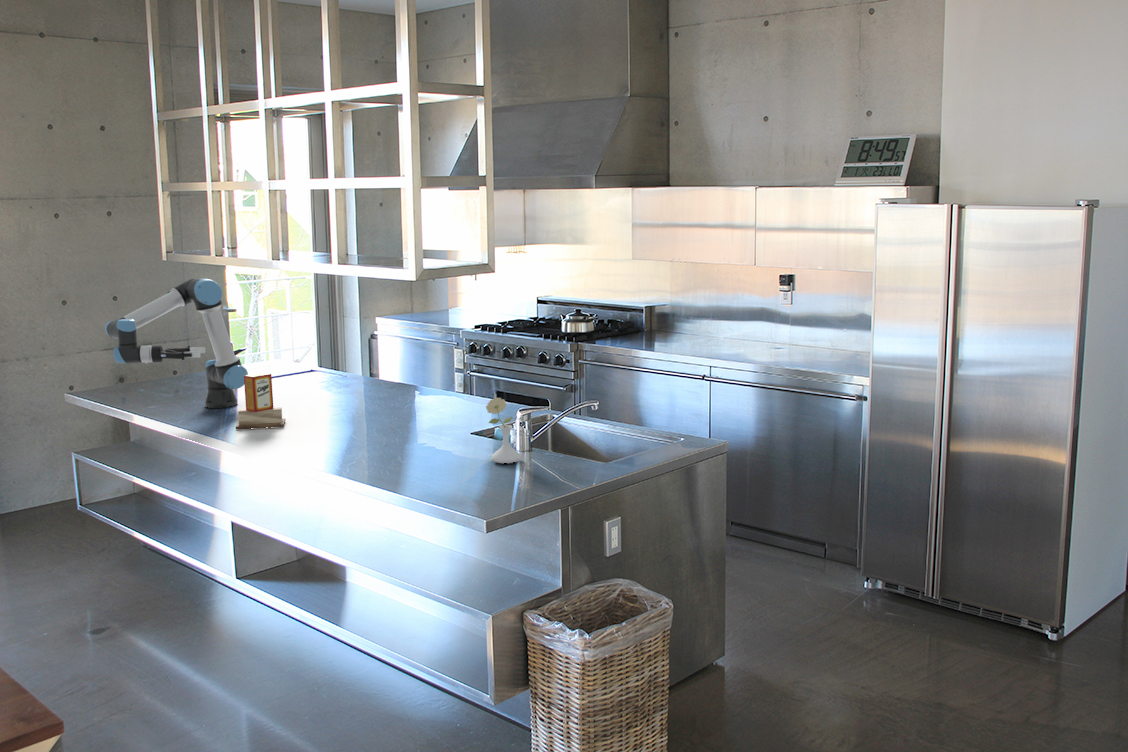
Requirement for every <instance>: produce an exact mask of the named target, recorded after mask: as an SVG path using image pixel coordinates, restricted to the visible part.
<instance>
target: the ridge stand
mask: <svg viewBox="0 0 1128 752" xmlns="http://www.w3.org/2000/svg"><path fill="white" fill-rule="evenodd" d="M285 421H286V418H283V410H282V407H273V409H268V410H264V411H259V412H251V411H246V408H244V409H242V408H241V409H238V422H237V424H236V426H235V430H236V429H249V430H252V429H251V428H266V427H268V429H272V428H271V427H283V428H284V427H285V425H284V424H286V422H285Z"/></svg>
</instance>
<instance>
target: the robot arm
mask: <svg viewBox="0 0 1128 752" xmlns="http://www.w3.org/2000/svg"><path fill="white" fill-rule="evenodd" d="M222 296H223V290H222V288H221V286H220V284H219V283H218V282H216V281H215V280H213V279H210V278H200V277H193V278H190V279H188V280H185V281H184V282H182V283H180V284H178V285H176V286H175V287H173V288H171V289H170V292H168V293H166V294H164V295H162V296H160V297H158V298H156V299H154V300H153V301H151V302H149V303H147V304H144V305H143V306H141V307H140V308H137V309H136V310H133V311H132V312H130V313H127V314H126V315H124V316H123V317H120V318H118V319H116V320H110V321H108V322H107V323H106V324H105V325H104V331H105V334H106V335H107V336H108V337H110V338H112V339H117V340H118V346H115V347H114V348H113V359H114V362H115V363H117V364H138V363H139V364H142V363H144V364H145V365H147V364H148V363H152V362H153V363H162V362H163V361H164V359H173V360H175V359H176V360H182V361H185V359H194V358H195V359H197V358H198V359H199V358H201V354H206V346H194V347H192V346H191V345H187V346H184V347H173V348H169V347H168V348H166V349H163V346H162V345H160V344H159V345H158V344H157V345H156V344H155V345H138V339H137V338H138V336H137V329H140V328H141V327H143V326H145V325H147V324H148V323H151V322H152V321H155V320H156V319H158V318H160V317H161V316H163V315H165V314H167V313H169V312H171V311H173V310H174V309H177V308H179V307H185V306H187V305H189V304H194V306H195V309H196V311H197V312H198V313H200V314H201V316H202V317H201V318H202V319H203V323H204V326H205V329H206V331H207V334H208V338H209V341H210V344H211V346H212V347H211V349H213V354H214V357H215V359H209V360H207V361H205V374H206V375H205V376H206V385H207V386H206V387H207V388H206V389H207V392H206V396H205V399H204V400H205V401H204V407H205V408H207V407H208V408H207V409H224V408H223V407H227V408H231V407H230V406H232V407H235V406H234V405H236V404H237V403H238V398H237V395H236V394H235V390H238V389H240V388H243V386H245V385H244V376H245V375H249V373H248V371H247V369H246V368H245V366H243V365H242V363H241V359H240V357H239V356H237V355H235V351H234V349H233V346H232V342H231V339H230V336H229V333H228V329H227V327H226V323H225V321H224V317H223V315H222V310H221V307H222V305H223V302H222V300H221V299H222ZM237 405H238V404H237ZM237 405H236V406H237Z"/></svg>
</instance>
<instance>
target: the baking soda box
mask: <svg viewBox="0 0 1128 752" xmlns="http://www.w3.org/2000/svg"><path fill="white" fill-rule="evenodd" d="M272 379H273V378H272V374H271V373H267V372H257V373H250V374H249V373H248V375H245V376H244V385H243V386H244V397H245V409H246V411H251V412H259V411H264V410H268V409H273V408H274V398H273V397H274V396H273V395H274V394H273V381H272Z"/></svg>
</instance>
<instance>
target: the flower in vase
mask: <svg viewBox="0 0 1128 752" xmlns="http://www.w3.org/2000/svg"><path fill="white" fill-rule="evenodd" d="M485 408H486V410H487V413H489V414H492V415H497V416H498V418H496V417H495V418H491V419H490V420H489V422H488V424H493V425H494V424H495V425H496V424H498V423H499V422H500V423H501V424H502V425H499V426H498V427H499V429H500V431H501V434H502V445H501V447H500V448H499V449H497V450H496V451H495V452H494V453H493V454H492V455H491V460H492V461H493V462H494V463H498V464H504V463H507V464H514V463H513V462H515V463H517V462H520V461H521V459H522V455H521V454H520V453H519V452H518V451H517V450H516V449H514V448H513V447H512V445H511V444H510V434H511V430H512V428H513V427H514V426H513V425H511V424H510V425H509V424H508V423H509V422H511V421H512V418H513V416H510V417H508V418H505V419H504V420H503V422H502V420H501V418H500V413H502V412H504V410H505V409H506V408H507V402H506V400H505V399H502V397H496V398H494V397H493V398H492V399H490V400H489V401H488V403H487V405H486V406H485Z"/></svg>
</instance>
